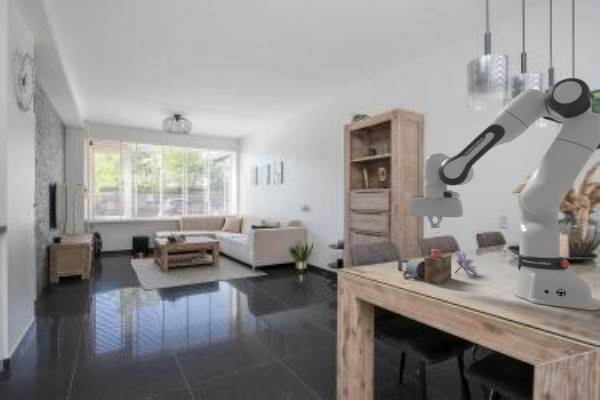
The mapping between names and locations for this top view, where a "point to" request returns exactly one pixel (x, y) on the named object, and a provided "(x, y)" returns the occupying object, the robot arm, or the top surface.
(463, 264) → the water lily
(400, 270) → the handrail
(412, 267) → the ceramic mug
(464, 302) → the top surface
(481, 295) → the top surface
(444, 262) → the brown rectangular block
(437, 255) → the gauge button
